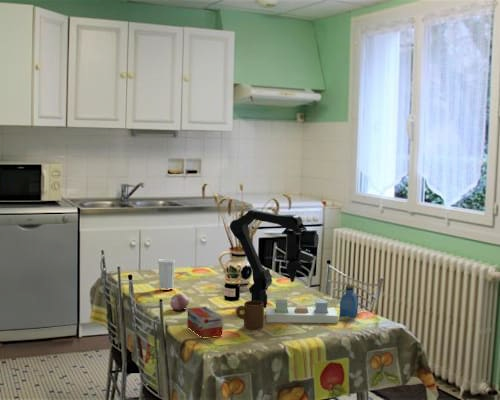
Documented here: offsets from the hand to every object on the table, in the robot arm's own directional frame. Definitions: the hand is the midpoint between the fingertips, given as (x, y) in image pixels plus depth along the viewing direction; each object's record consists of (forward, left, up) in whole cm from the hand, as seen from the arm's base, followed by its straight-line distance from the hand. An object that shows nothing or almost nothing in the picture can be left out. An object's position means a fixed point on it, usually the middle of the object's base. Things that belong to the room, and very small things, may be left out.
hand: (292, 281), depth 278 cm
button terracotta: (+3, -13, -11) cm, 17 cm away
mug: (-18, -27, -12) cm, 35 cm away
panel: (+3, -13, -12) cm, 18 cm away
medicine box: (-35, -33, -12) cm, 50 cm away
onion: (-47, -3, -12) cm, 49 cm away
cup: (-57, +32, -12) cm, 66 cm away
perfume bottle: (+23, -7, -12) cm, 27 cm away
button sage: (-5, -13, -9) cm, 17 cm away
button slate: (+11, -13, -9) cm, 19 cm away
